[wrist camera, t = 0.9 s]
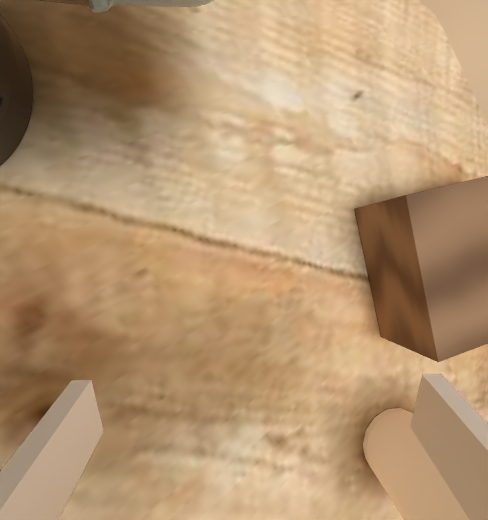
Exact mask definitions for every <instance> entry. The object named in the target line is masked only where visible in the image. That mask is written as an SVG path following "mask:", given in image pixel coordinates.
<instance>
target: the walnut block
mask: <svg viewBox="0 0 488 520" xmlns="http://www.w3.org/2000/svg"><path fill="white" fill-rule="evenodd" d="M355 214H356V219H357V223H358V228H359V233H360V238H361V243H362V247H363V252H364V257H365V262H366V266H367V271H368V276H369V281H370V286H371V290H372V295H373V300H374V305H375V310H376V314H377V319H378V324H379V329H380V333H381V337H382V338H385V339H387V340H389V341H392V342H394V343H396V344H398V345H401V346H403V347H405V348H407V349H410V350H412V351H414V352H417V353H419V354H421V355H423V356H426V357H428V358H430V359H432V360H435V361H437V362H440V361H443V360H445V359H448V358H451V357H453V356H456V355H459V354H461V353H464V352H467V351H469V350H472V349H475V348H477V347H480V346H483V345H485V344H488V176H485V177H481V178H477V179H473V180H469V181H464V182H460V183H456V184H452V185H448V186H443V187H439V188H435V189H431V190H427V191H423V192H418V193H414V194H410V195H406V196H402V197H398V198H394V199H390V200H387V201H383V202H379V203H375V204H371V205H368V206H364V207H360V208H356V209H355Z"/></svg>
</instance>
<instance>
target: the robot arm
mask: <svg viewBox="0 0 488 520" xmlns="http://www.w3.org/2000/svg"><path fill="white" fill-rule="evenodd" d="M40 1H50V2H60V3H70V4H80V5H90V8H91V11H92V12H97V13H102V12H107V11H108V10H109V9H110V8H111V7H112V6H127V5H138V6H169V7H197V6H201V5H204V4H207V3H209V2H211V1H213V0H40ZM32 98H33V90H32V79H31V73H30V69H29V65H28V62H27V59H26V56H25V54H24V51H23V49H22V47H21V45H20V43H19V41H18V39H17V37H16V36H15V34H14V32H13V31H12V29H11V28H10V26H9V25H8V24H7V22H6V21H5V20H4V19H3V17H2V16H1V15H0V164H2V163H3V162H4V161H5V160H6V159H7V158H8V157H9V155H10V154H11V153H12V152H13V151H14V149H15V148H16V146H17V145H18V143H19V142H20V140H21V138H22V136H23V134H24V132H25V130H26V127H27V124H28V121H29V118H30V114H31V108H32ZM410 427H411V429H412V431H413V432H414V434H415V435H416V437H417V438H418V440H419V442H420V443H421V445H422V446H423V448H424V449H425V451H426V452H427V454H428V456H429V457H430V459H431V460H432V462H433V463H434V465H435V467H436V468H437V470H438V471H439V473H440V474H441V476H442V478H443V479H444V481H445V482H446V484H447V485H448V487H449V488H450V490H451V492H452V493H453V495H454V496H455V498H456V499H457V501H458V503H459V504H460V506H461V507H462V509H463V510H464V512H465V514H466V515H467V517H468V518H469V520H488V422H487V421H486V420H485V419H484V418H483V417H482V416H481V415H480V414H479V413H478V412H477V411H476V410H475V409H474V408H473V407H472V405H471V404H470V403H469V402H468V401H467V400H466V399H465V398H464V397H463V396H462V395H461V394H460V393H459V392H458V391H457V390H456V389H455V388H454V386H453V385H452V384H451V383H450V382H449V381H448V380H447V379H446V378H445V377H444V376H443V375H442V374H422V378H421V382H420V386H419V391H418V395H417V399H416V403H415V407H414V412H413V416H412V420H411V424H410ZM103 432H104V431H103V427H102V422H101V418H100V414H99V410H98V406H97V402H96V397H95V393H94V389H93V385H92V381H91V380H72V381H71V382H70V383H69V384H68V386H67V387H66V388H65V390H64V391H63V392H62V393H61V395H60V396H59V397H58V398H57V400H56V401H55V402H54V404H53V405H52V406H51V407H50V409H49V410H48V411H47V412H46V414H45V415H44V416H43V418H42V419H41V420H40V421H39V423H38V424H37V425H36V426H35V428H34V429H33V430H32V431H31V433H30V434H29V435H28V437H27V438H26V439H25V440H24V442H23V443H22V444H21V445H20V447H19V448H18V449H17V451H16V452H15V453H14V454H13V456H12V457H11V458H10V459H9V461H8V462H7V463H6V465H5V466H4V467H3V468H2V470H1V471H0V520H58V519H59V517H60V515H61V513H62V511H63V509H64V507H65V506H66V504H67V502H68V500H69V498H70V496H71V494H72V492H73V490H74V488H75V486H76V484H77V482H78V480H79V478H80V477H81V475H82V473H83V471H84V469H85V467H86V465H87V463H88V461H89V459H90V457H91V455H92V453H93V451H94V449H95V448H96V446H97V444H98V442H99V440H100V438H101V436H102V434H103Z"/></svg>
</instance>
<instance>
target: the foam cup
mask: <svg viewBox="0 0 488 520" xmlns="http://www.w3.org/2000/svg"><path fill="white" fill-rule="evenodd" d="M412 416H413V413H411V412H409V411H407V410H404V409H402V408H393V409H387V410H385V411H383V412H382V413H380V414H379V415H377V416H376V417H375V418H374V419H373V420H372V422H371V423H370V425H369V426H368V428H367V429H366V432H365V437H364V442H363V449H364V454H365V459H366V461H367V462H368V463H369V466H370V467H371V469H372V470H373V472H374V474H375V475H376V477H377V478H378V480H379V481H380V483H381V484H382V486H383V488H384V489H385V491H386V492H387V494H388V495H389V497H390V498H391V500H392V501H393V503H394V505H395V506H396V508H397V509H398V511H399V512H400V514H401V515H402V517H403V518H404V520H469V518H468V517H467V515H466V514H465V512H464V510H463V509H462V507H461V506H460V504H459V503H458V501H457V499H456V498H455V496H454V495H453V493H452V492H451V490H450V488H449V487H448V485H447V484H446V482H445V481H444V479H443V478H442V476H441V474H440V473H439V471H438V470H437V468H436V467H435V465H434V463H433V462H432V460H431V459H430V457H429V456H428V454H427V452H426V451H425V449H424V448H423V446H422V445H421V443H420V442H419V440H418V438H417V437H416V435H415V434H414V432H413V431H412V429H411V427H410V424H411V420H412Z"/></svg>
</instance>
